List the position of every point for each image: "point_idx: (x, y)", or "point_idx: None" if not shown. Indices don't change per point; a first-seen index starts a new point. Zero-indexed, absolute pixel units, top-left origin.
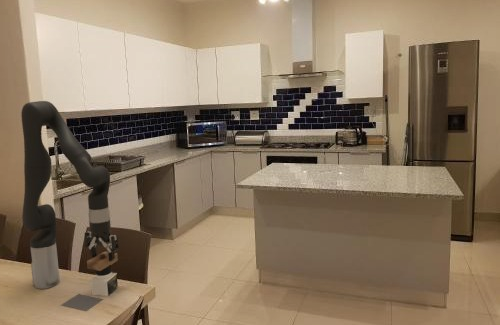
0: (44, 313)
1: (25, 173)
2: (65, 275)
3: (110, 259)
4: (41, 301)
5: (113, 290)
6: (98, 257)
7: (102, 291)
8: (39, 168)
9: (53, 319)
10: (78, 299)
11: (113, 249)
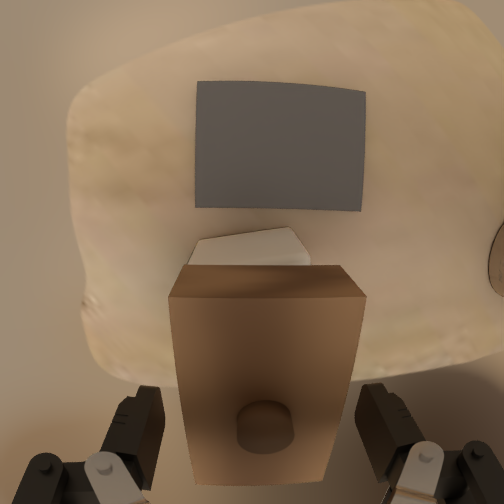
0: (387, 43)
1: None
2: (490, 327)
3: (137, 398)
4: (465, 128)
5: None
6: (299, 403)
7: (226, 243)
8: None
9: (312, 11)
10: (322, 161)
11: (42, 473)
